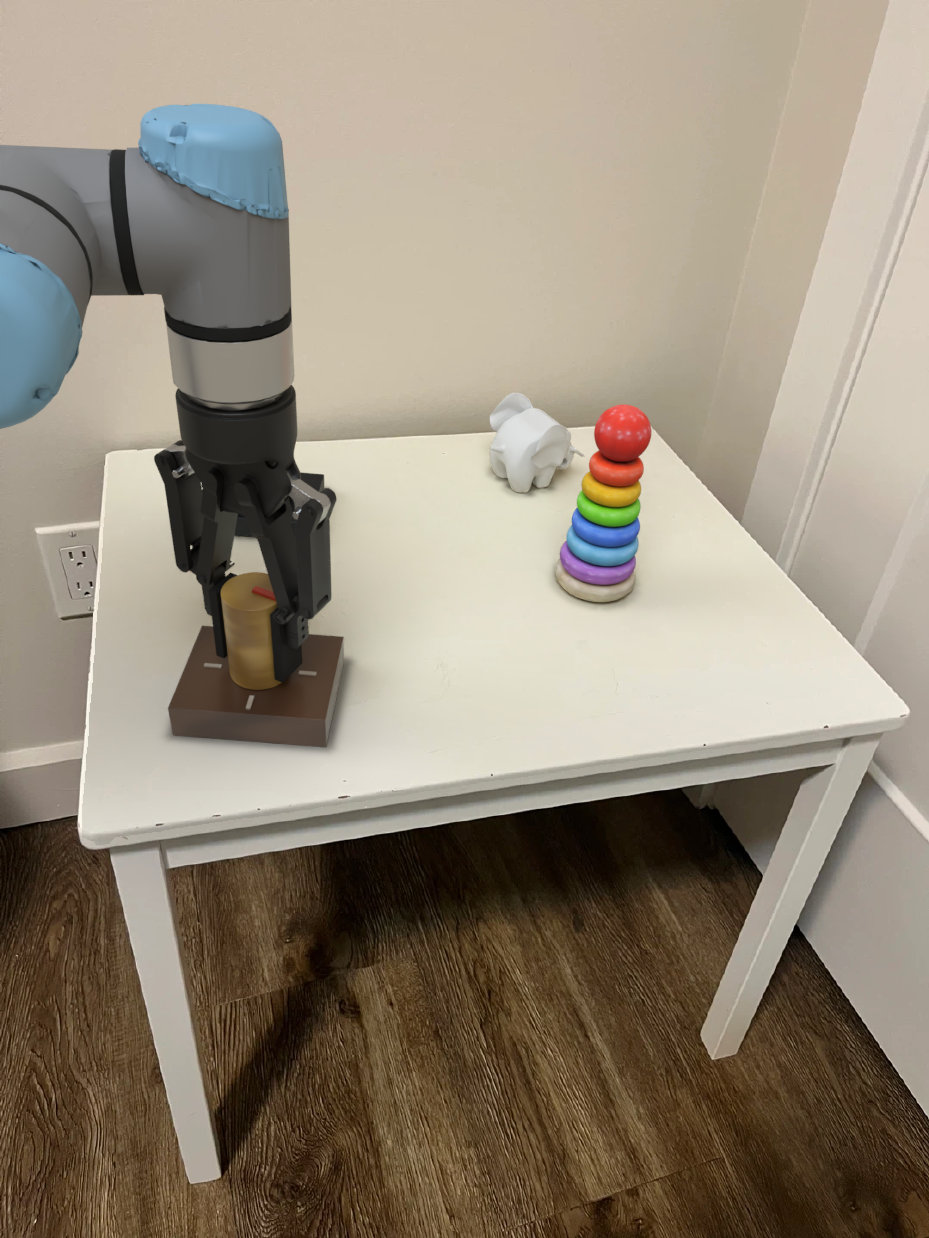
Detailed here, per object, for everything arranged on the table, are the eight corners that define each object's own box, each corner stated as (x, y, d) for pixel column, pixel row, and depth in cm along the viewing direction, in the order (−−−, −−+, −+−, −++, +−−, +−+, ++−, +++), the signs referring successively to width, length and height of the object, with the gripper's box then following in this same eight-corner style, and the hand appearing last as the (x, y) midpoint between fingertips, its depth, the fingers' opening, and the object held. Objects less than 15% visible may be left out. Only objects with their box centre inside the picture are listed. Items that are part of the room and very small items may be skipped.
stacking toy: (649, 591, 91) (693, 419, 79) (589, 615, 87) (625, 439, 75) (597, 551, 96) (631, 384, 84) (538, 572, 92) (565, 400, 80)
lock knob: (217, 677, 72) (206, 594, 67) (252, 643, 76) (245, 561, 71) (268, 698, 71) (261, 614, 66) (302, 662, 74) (298, 580, 69)
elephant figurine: (595, 486, 106) (608, 416, 101) (508, 507, 101) (517, 435, 96) (549, 449, 113) (559, 381, 107) (465, 467, 107) (471, 397, 102)
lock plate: (172, 735, 71) (167, 706, 69) (205, 651, 79) (201, 623, 77) (326, 747, 71) (325, 718, 69) (343, 662, 79) (343, 635, 77)
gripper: (387, 399, 58) (380, 670, 73) (162, 334, 63) (198, 598, 78) (323, 446, 53) (330, 729, 67) (83, 370, 58) (138, 648, 73)
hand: (259, 658), depth 73 cm, fingers closed on lock knob, 5 cm apart
